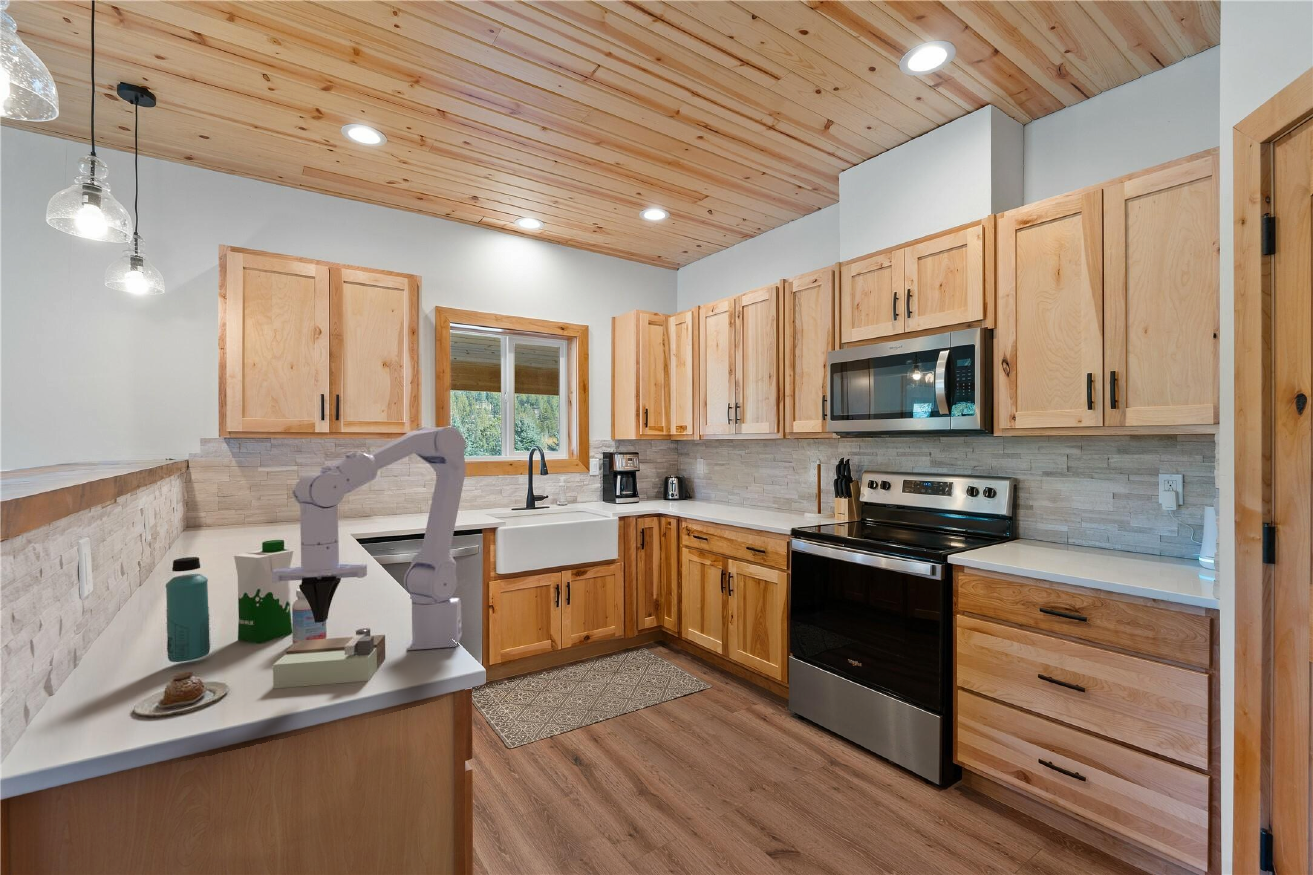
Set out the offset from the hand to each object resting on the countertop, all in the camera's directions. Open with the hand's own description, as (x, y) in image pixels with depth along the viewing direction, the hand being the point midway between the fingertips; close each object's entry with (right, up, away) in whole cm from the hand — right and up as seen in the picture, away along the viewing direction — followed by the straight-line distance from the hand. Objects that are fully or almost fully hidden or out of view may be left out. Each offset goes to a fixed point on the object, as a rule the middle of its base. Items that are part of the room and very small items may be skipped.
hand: (321, 620), depth 103 cm
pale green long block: (0, -10, +1) cm, 10 cm away
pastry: (-18, -11, -7) cm, 23 cm away
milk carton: (-25, -11, +24) cm, 36 cm away
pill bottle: (-14, -11, +20) cm, 26 cm away
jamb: (0, -10, +6) cm, 12 cm away
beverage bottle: (-30, -11, +9) cm, 33 cm away
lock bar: (+5, -6, +4) cm, 8 cm away
